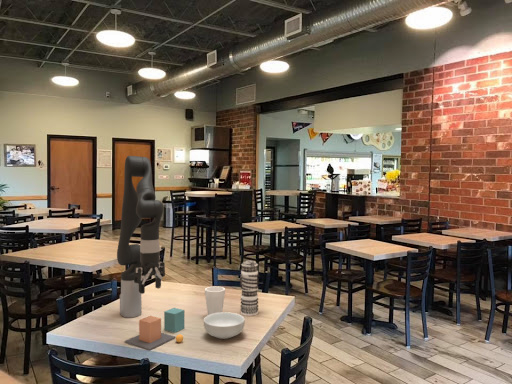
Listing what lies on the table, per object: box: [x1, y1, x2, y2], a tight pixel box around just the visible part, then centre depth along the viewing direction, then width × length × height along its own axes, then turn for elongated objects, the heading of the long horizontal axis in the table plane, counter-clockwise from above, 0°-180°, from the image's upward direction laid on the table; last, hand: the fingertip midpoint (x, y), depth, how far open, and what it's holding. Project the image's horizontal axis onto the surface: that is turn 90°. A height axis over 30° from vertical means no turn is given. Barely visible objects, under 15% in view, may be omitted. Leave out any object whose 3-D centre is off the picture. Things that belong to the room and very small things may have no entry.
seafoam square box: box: [163, 307, 185, 334], centre depth 176 cm, size 6×6×8 cm
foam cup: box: [204, 285, 226, 316], centre depth 192 cm, size 10×9×13 cm
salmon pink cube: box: [138, 315, 162, 343], centre depth 164 cm, size 6×6×8 cm
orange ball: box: [175, 333, 184, 343], centre depth 162 cm, size 3×3×3 cm
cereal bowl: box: [203, 311, 246, 340], centre depth 169 cm, size 17×17×7 cm
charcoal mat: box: [123, 332, 176, 351], centre depth 164 cm, size 14×14×1 cm
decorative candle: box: [239, 259, 260, 317], centre depth 197 cm, size 9×9×25 cm
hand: (150, 290), depth 163 cm, fingers open, 8 cm apart
